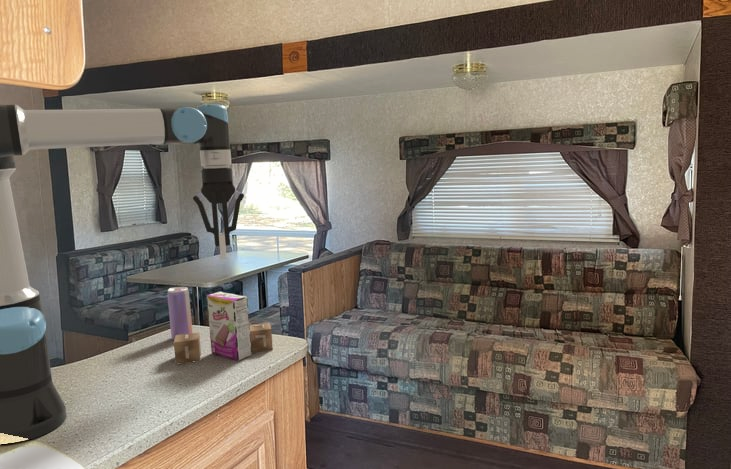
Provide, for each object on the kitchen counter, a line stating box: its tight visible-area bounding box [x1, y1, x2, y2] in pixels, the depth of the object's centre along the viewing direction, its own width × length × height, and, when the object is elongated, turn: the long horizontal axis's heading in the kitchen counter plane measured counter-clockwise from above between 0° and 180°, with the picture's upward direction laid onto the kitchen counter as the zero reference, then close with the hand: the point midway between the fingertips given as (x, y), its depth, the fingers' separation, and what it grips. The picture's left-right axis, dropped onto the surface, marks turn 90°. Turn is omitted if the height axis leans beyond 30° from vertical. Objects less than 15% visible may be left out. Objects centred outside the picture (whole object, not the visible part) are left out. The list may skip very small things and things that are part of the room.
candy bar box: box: [206, 291, 253, 362], centre depth 145 cm, size 11×5×16 cm, turn 54°
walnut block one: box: [173, 332, 202, 365], centre depth 144 cm, size 6×6×6 cm
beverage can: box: [166, 286, 193, 341], centre depth 160 cm, size 6×6×15 cm
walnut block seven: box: [249, 322, 274, 353], centre depth 150 cm, size 6×6×6 cm
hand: (223, 258), depth 142 cm, fingers closed
